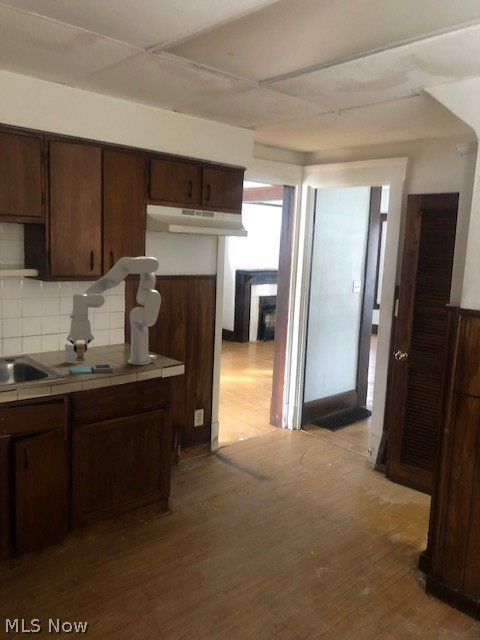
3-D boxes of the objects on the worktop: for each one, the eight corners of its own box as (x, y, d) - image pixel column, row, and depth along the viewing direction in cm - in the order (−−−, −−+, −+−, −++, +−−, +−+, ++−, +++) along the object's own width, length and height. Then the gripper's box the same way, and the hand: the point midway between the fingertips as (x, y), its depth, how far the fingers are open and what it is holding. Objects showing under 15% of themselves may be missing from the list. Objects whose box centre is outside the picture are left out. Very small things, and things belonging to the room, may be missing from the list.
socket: (110, 367, 288) (110, 363, 288) (113, 371, 279) (113, 368, 279) (91, 368, 285) (91, 364, 284) (93, 373, 275) (93, 369, 275)
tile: (89, 368, 284) (89, 366, 284) (91, 373, 275) (91, 371, 275) (70, 369, 281) (70, 367, 280) (71, 374, 271) (71, 372, 271)
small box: (83, 362, 296) (82, 344, 295) (75, 364, 292) (75, 345, 290) (72, 360, 300) (72, 342, 299) (65, 362, 296) (64, 343, 294)
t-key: (86, 361, 273) (86, 346, 272) (76, 362, 272) (76, 346, 270) (84, 357, 282) (84, 343, 280) (74, 358, 280) (74, 343, 279)
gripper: (63, 318, 267) (63, 354, 270) (98, 318, 273) (97, 353, 276) (63, 316, 274) (63, 351, 276) (96, 316, 280) (96, 350, 283)
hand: (80, 351), depth 276 cm, fingers closed on t-key, 4 cm apart
